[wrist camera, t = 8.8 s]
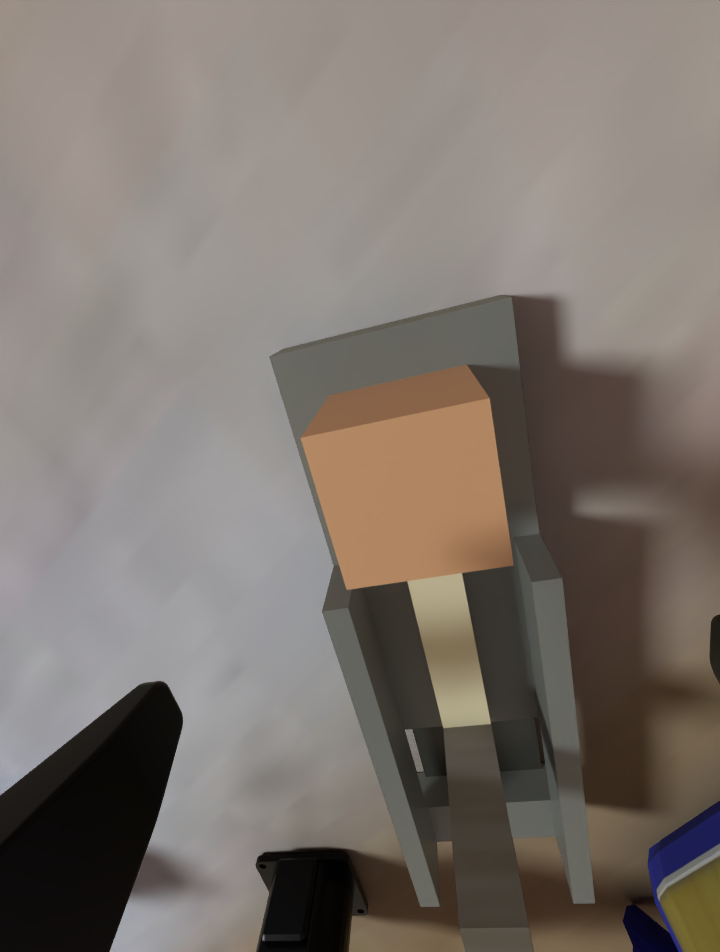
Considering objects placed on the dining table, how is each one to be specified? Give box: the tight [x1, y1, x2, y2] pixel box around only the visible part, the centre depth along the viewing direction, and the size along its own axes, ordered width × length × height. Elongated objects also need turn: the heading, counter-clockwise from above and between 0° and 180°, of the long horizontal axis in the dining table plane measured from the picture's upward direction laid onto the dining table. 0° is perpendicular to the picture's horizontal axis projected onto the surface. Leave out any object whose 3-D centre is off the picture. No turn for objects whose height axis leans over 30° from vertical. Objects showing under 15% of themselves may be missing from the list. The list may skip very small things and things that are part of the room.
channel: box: [270, 295, 595, 907], centre depth 21 cm, size 28×8×5 cm, turn 14°
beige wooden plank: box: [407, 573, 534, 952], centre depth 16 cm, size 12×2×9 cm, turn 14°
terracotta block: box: [301, 364, 514, 590], centre depth 15 cm, size 5×5×5 cm
